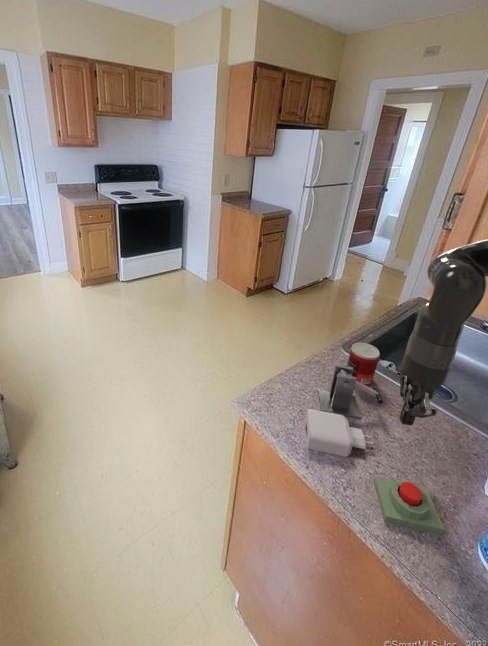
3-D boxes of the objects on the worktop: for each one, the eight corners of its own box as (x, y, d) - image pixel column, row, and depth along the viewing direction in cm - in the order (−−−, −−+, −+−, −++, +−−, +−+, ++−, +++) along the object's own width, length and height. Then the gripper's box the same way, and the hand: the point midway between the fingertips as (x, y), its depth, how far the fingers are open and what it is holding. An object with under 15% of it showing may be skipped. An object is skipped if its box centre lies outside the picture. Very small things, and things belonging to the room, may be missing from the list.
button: (415, 489, 65) (418, 483, 64) (422, 508, 62) (425, 502, 61) (396, 485, 66) (398, 479, 65) (402, 503, 62) (404, 497, 62)
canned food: (375, 379, 100) (384, 350, 95) (365, 392, 94) (374, 361, 90) (351, 367, 105) (357, 339, 100) (340, 379, 99) (347, 349, 95)
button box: (424, 492, 67) (429, 481, 66) (441, 535, 60) (447, 523, 59) (373, 482, 69) (376, 470, 68) (384, 521, 62) (388, 510, 61)
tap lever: (374, 392, 88) (380, 386, 87) (379, 406, 83) (385, 400, 82) (335, 371, 88) (340, 365, 87) (338, 384, 84) (344, 377, 83)
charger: (375, 465, 73) (306, 450, 76) (365, 432, 81) (304, 420, 84) (379, 450, 71) (309, 436, 74) (369, 417, 80) (307, 406, 83)
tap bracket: (353, 398, 92) (362, 365, 87) (360, 420, 85) (369, 385, 80) (317, 392, 94) (324, 359, 89) (320, 413, 86) (328, 378, 82)
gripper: (468, 381, 55) (438, 453, 62) (435, 339, 67) (413, 402, 74) (419, 374, 57) (395, 444, 63) (396, 333, 69) (378, 396, 75)
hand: (405, 422), depth 68 cm, fingers closed
